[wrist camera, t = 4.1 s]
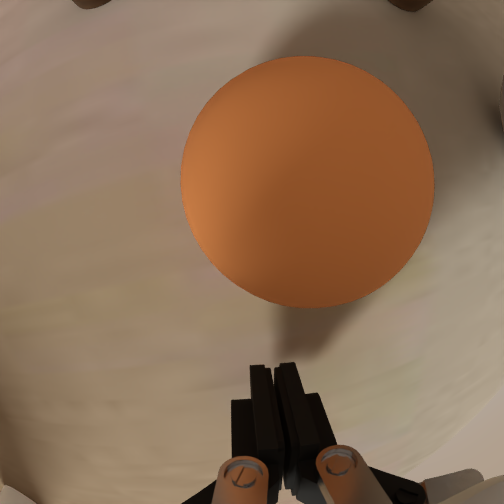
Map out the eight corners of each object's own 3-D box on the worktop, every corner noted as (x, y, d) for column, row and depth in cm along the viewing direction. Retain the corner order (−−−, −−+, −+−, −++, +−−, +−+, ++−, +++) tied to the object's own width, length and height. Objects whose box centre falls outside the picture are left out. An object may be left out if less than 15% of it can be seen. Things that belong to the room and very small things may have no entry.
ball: (174, -9, 3) (214, 88, 9) (138, 345, 5) (196, 256, 10) (489, 71, 3) (378, 115, 9) (447, 358, 5) (357, 273, 11)
